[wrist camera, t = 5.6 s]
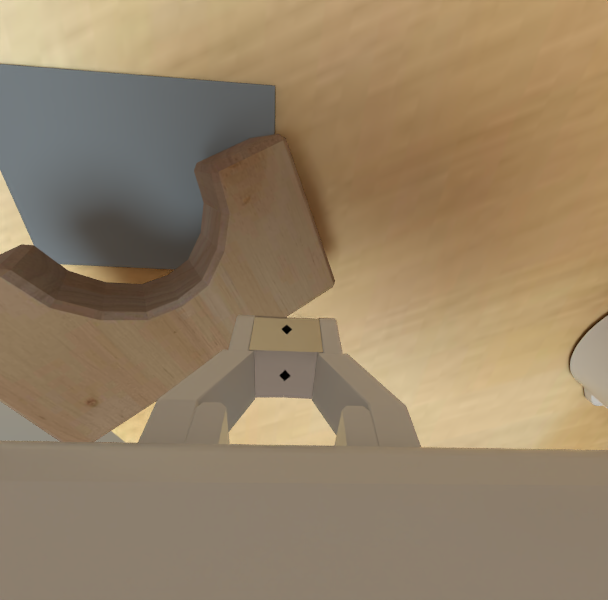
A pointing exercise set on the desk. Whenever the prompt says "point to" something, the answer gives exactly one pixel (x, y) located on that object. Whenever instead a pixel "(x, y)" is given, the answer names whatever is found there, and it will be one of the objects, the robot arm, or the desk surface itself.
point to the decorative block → (158, 300)
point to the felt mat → (118, 158)
